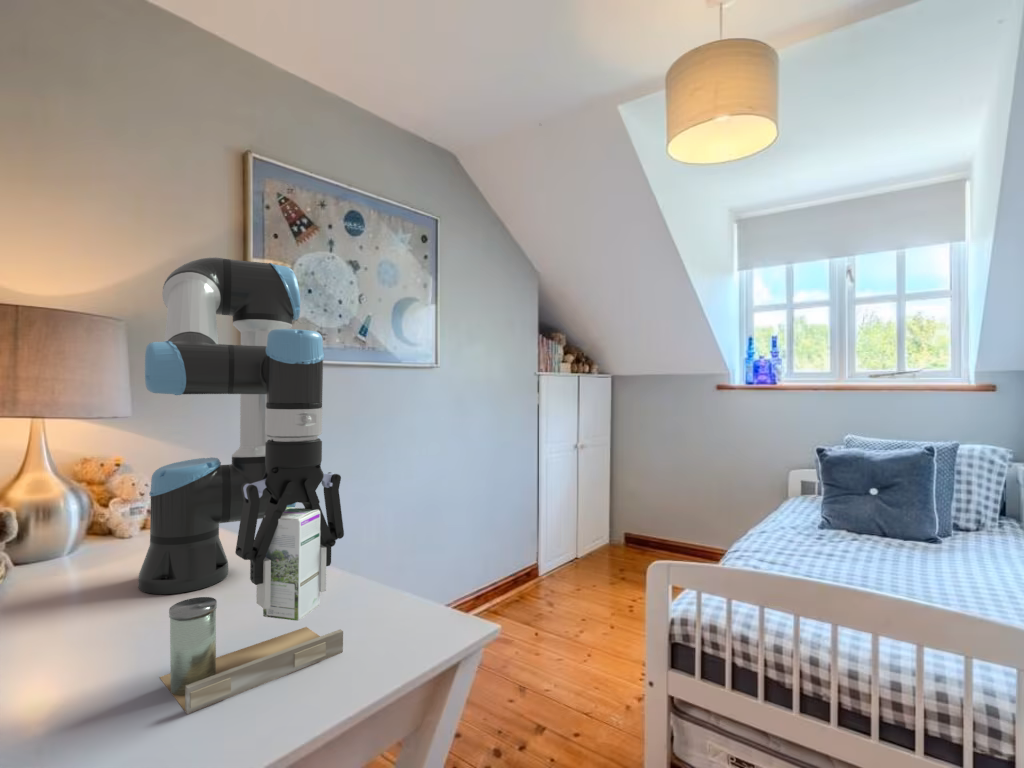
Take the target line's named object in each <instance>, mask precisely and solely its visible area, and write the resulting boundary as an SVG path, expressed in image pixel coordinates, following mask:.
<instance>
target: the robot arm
mask: <svg viewBox="0 0 1024 768" xmlns="http://www.w3.org/2000/svg"><path fill="white" fill-rule="evenodd" d="M161 296H162V301H163V304H164V305H165V306H166V308H167V311H166V323H165V330H164V331H165V332H164V340H163V341H153V342H150V343H148V344H147V345H146V347H145V351H144V352H145V354H144V355H145V356H144V380H145V381H144V383H145V388H146V389H147V391H148V392H150V393H152V394H163V395H174V396H182V395H240V397H239V398H240V399H239V401H240V402H239V403H240V405H239V406H240V407H239V411H240V412H239V416H240V417H239V419H240V425H239V429H240V431H239V433H240V434H239V436H240V437H239V448H237V450H235V451H234V452H233V453H232V455H231V463H230V464H229V463H228V464H221V463H222V462H221V461H220V458H218V457H201V458H191V459H187V460H182V461H177V462H173V463H169V464H166V465H163V466H161V467H159V468H157V469H156V470H154V472H153V473H152V475H151V482H150V491H149V494H148V495H149V496H150V521H149V522H150V523H149V524H150V525H149V526H150V528H149V530H150V531H149V538H150V539H149V546H148V549H147V552H146V555H145V558H144V560H143V562H142V565H141V568H140V570H139V573H138V583H137V584H138V589H139V590H140V591H141V592H144V593H147V594H152V595H153V594H154V595H171V594H172V595H173V594H182V593H188V592H193V591H196V590H197V591H198V590H201V589H204V588H208V587H211V586H213V585H216V584H217V583H220V582H222V581H224V579H226V578H227V576H228V575H229V560H228V558H227V556H226V553H225V552H226V551H225V549H224V547H223V544H222V541H221V539H220V524H223V523H224V524H225V523H235V522H239V525H238V526H239V527H238V528H239V529H238V533H237V538H236V539H237V540H236V547H235V555H236V556H238V557H239V558H241V559H243V560H244V561H247V560H248V561H249V562H250V569H249V570H250V571H249V574H250V575H249V576H250V577H249V579H250V582H251V583H252V584H254V585H255V586H256V604H257V605H258V606H260V607H261V608H262V609H263V608H264V609H267V608H270V594H271V560H270V559H268V558H266V557H265V556H266V554H267V551H268V549H269V546H270V544H271V541H272V538H273V536H274V533H275V531H276V528H277V525H278V519H280V518H281V515H282V513H283V512H284V511H285V510H286V507H294V508H296V505H297V503H301V504H302V505H303V508H307V509H311V510H319V511H320V593H324V592H326V591H327V567H329V566H331V564H332V547H334V546H335V545H336V541H337V540H340V539H342V538H343V537H344V536H345V531H344V530H345V529H344V523H343V522H344V521H343V515H342V506H341V498H340V486H341V485H340V484H341V481H342V480H341V479H342V477H341V474H339V473H334V472H331V471H330V472H324V471H323V469H322V468H321V464H322V461H323V454H322V453H323V441H322V440H321V439H320V438H318V436H319V437H320V435H322V433H323V380H324V378H323V375H324V358H325V352H324V347H323V346H324V343H323V336H322V334H321V333H320V332H318V331H316V330H308V329H295V328H293V322H294V321H297V320H298V319H300V316H301V294H300V287H299V282H298V278H297V276H296V274H295V272H294V270H293V269H292V268H290V267H289V266H286V265H280V264H274V263H271V262H258V261H249V260H238V259H229V258H223V257H205V258H199V259H196V260H192V261H189V262H187V263H185V264H182V265H180V266H179V267H178V268H176V269H175V270H173V271H172V272H171V273H170V274H169V275H168V276H167V278H166V279H165V281H164V284H163V287H162V295H161ZM217 315H219V316H220V315H221V316H230V317H231V316H232V326H233V327H235V329H236V330H238V332H240V344H224V343H223V344H221V343H219V336H218V335H219V334H218V333H219V332H218V322H217V321H218V320H217ZM320 484H321V485H322V487H323V497H324V505H325V514H326V518H325V515H324V513H323V510H322V507H321V505H320V503H321V502H320V499H319V496H318V494H317V492H316V491H317V489H318V488H319V486H320ZM149 496H148V497H149ZM264 516H265V518H264ZM258 520H261V521H260V524H259V527H258V530H256V529H257V526H258V525H257V523H258ZM256 531H257V532H256Z"/></svg>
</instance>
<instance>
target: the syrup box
mask: <svg viewBox="0 0 1024 768" xmlns="http://www.w3.org/2000/svg"><path fill="white" fill-rule="evenodd" d="M264 518H265V516H264ZM265 557H266V558H268V559H270V560H271V594H270V608H267V609H264V608H262V611H263V614H262V616H263V617H265V618H273V619H279V620H280V619H281V620H288V621H295V622H298V621H300V620H302V619H303V618H305V617H307V616H308V615H310V614H311V612H313V611H314V610H316V609H317V608H318V607H320V604H321V600H320V599H321V592H320V511H319V510H311V509H307V508H305V507H295V508H294V507H286V510H285V511H284V512H283V513H282V515H281V518H280V519H278V525H277V528H276V531H275V533H274V536H273V538H272V541H271V544H270V546H269V549H268V551H267V554H266V556H265Z"/></svg>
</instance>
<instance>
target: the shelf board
mask: <svg viewBox="0 0 1024 768" xmlns="http://www.w3.org/2000/svg"><path fill="white" fill-rule="evenodd" d="M343 652H344V630H342V629H337V630H335V631H331V632H330V633H329V632H328V633H326V634H322V635H321V636H320V635H319V634H318V633H316V632H315V631H313V630H312V629H310V628H309V627H307V626H305V627H301V628H299V629H296V630H293V631H290V632H288V633H284V634H282V635H279V636H275V637H273V638H270V639H267V640H264V641H259V642H258V643H255V644H252V645H248V646H247V647H243V648H239V649H238V650H234V651H231V652H229V653H226V654H223V655H219V656H216V675H213V676H210V677H208V678H205V679H202V680H199V681H197V682H194V683H191V684H188V685H186V686H185V695H184V696H180V695H174V694H173V693H171V675H170V673H168V674H164V675H161V676H159V679H160V681H162V683H163V684H164V685H165V687H166V688H167V689H168V691H169V692H170V693H171V695H172V696H173V697H174V699H175V700H176V701H177V703H178V704H179V706H180V707H181V708H182V710H183V711H184V712H185V713H186V715H189V714H192V713H195V712H197V711H199V710H202V709H204V708H207V707H209V706H212V705H214V704H216V703H219V702H222V701H224V700H226V699H230V698H231V697H234V696H237V695H240V694H242V693H244V692H247V691H249V690H252V689H254V688H257V687H259V686H262V685H264V684H266V683H270V682H272V681H275V680H277V679H280V678H281V677H284V676H286V675H287V676H288V675H290V674H292V673H294V672H297V671H299V670H302V669H304V668H307V667H309V666H312V665H314V664H317V663H319V662H322V661H324V660H327V659H329V658H331V657H335V656H337V655H340V654H341V653H343Z"/></svg>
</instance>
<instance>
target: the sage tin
mask: <svg viewBox="0 0 1024 768" xmlns="http://www.w3.org/2000/svg"><path fill="white" fill-rule="evenodd" d="M217 603H218V602H217V599H216V598H213V597H211V596H198V597H193V598H188V599H184V600H181V601H178V602H176V603H175V604H172V605H171V606H170V607H169V609H168V611H169V612H168V613H169V615H168V618H169V626H170V629H169V633H170V635H169V637H170V638H169V639H170V641H169V642H170V645H169V647H170V654H169V655H170V657H169V658H170V671H169V672H170V673H169V674H170V675H171V692H170V694H172V693H173V694H174V695H180V696H184V695H185V686H186V685H188V684H191V683H194V682H197V681H199V680H202V679H205V678H208V677H210V676H213V675H216V658H217V618H216V617H217V616H216V615H217V612H216V611H217V606H218V604H217Z"/></svg>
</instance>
